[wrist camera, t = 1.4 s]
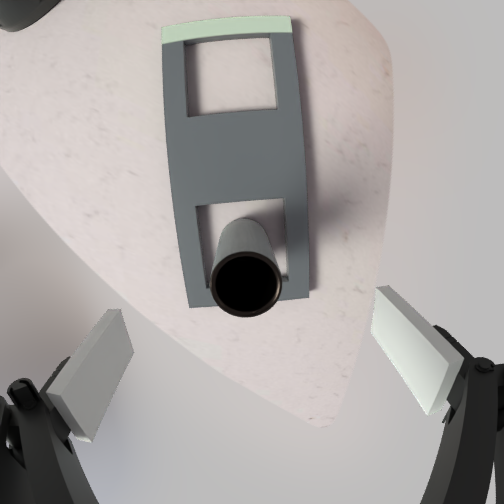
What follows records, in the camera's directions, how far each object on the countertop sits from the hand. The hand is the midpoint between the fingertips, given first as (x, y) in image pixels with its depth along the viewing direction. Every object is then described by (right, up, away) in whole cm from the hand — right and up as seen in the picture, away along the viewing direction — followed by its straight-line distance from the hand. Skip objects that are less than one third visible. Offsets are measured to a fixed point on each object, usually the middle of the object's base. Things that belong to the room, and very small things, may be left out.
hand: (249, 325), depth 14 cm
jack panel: (-1, +12, +11) cm, 17 cm away
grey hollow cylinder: (-1, +5, +14) cm, 15 cm away
